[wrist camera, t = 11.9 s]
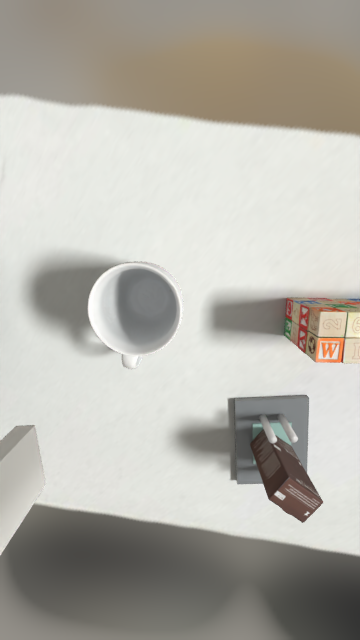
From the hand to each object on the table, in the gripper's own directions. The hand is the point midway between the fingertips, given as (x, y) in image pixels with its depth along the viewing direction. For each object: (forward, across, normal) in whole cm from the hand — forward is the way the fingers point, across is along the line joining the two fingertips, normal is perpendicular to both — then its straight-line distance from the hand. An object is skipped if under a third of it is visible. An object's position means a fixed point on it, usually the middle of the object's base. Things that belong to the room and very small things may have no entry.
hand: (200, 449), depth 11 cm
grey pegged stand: (+35, +12, -24) cm, 44 cm away
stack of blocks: (+35, +25, -3) cm, 43 cm away
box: (+34, +12, -24) cm, 43 cm away
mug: (+35, -7, +1) cm, 36 cm away
